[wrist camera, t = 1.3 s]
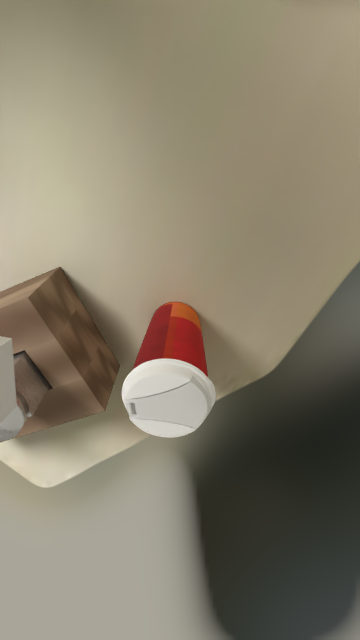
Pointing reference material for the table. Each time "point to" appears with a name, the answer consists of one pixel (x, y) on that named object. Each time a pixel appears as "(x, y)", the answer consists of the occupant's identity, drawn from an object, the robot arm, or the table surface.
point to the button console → (58, 348)
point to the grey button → (24, 394)
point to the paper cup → (170, 375)
